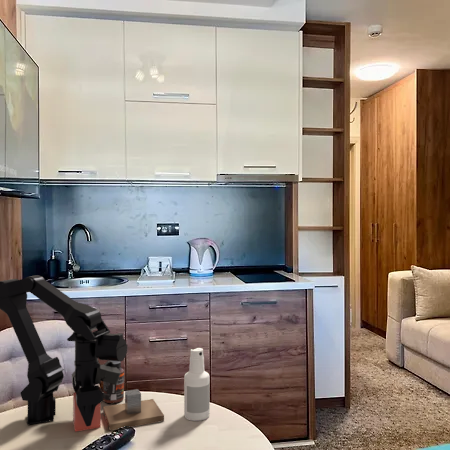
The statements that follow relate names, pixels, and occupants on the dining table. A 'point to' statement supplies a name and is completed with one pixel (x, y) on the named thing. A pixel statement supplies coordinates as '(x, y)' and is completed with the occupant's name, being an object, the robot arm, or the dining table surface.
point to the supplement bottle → (114, 387)
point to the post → (133, 401)
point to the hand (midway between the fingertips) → (86, 418)
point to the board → (132, 415)
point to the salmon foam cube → (78, 418)
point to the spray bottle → (196, 388)
